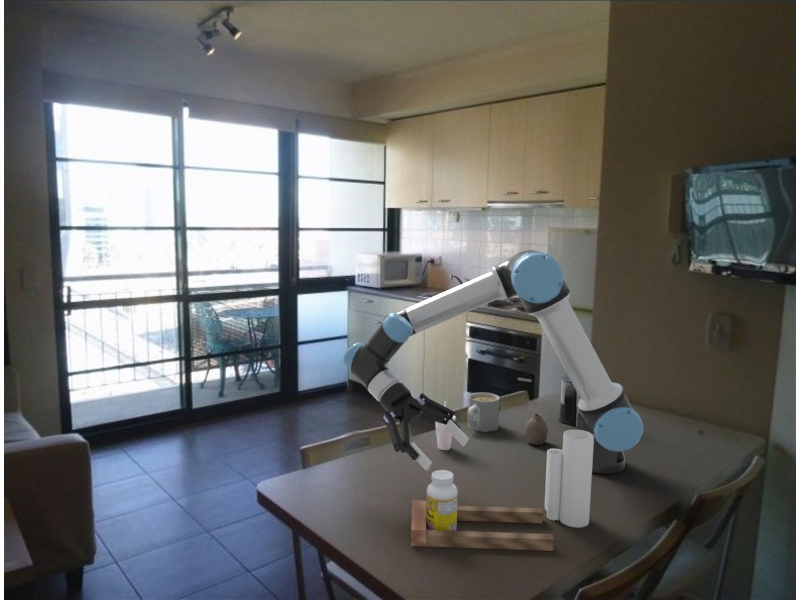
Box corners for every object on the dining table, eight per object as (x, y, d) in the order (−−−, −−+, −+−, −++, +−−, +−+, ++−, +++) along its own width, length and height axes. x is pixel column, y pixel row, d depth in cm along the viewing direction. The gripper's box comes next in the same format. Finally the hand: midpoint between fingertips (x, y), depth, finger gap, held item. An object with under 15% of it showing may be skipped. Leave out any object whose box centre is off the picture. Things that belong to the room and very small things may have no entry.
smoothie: (455, 444, 177) (456, 399, 175) (454, 452, 170) (456, 405, 168) (433, 443, 177) (434, 398, 175) (432, 451, 171) (433, 404, 169)
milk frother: (557, 415, 204) (559, 374, 202) (604, 419, 201) (607, 376, 199) (561, 430, 190) (563, 385, 188) (612, 433, 187) (615, 388, 185)
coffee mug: (482, 419, 199) (483, 390, 198) (504, 427, 191) (505, 397, 190) (453, 427, 191) (454, 397, 189) (475, 436, 183) (476, 405, 182)
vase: (534, 448, 174) (535, 420, 173) (519, 440, 180) (520, 413, 179) (552, 444, 177) (553, 416, 176) (537, 437, 183) (538, 410, 182)
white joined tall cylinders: (594, 520, 132) (599, 435, 130) (578, 531, 128) (583, 443, 125) (551, 502, 141) (555, 421, 138) (533, 512, 136) (537, 429, 133)
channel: (540, 518, 133) (541, 504, 132) (553, 550, 120) (554, 534, 119) (412, 514, 134) (412, 500, 133) (411, 545, 121) (411, 529, 121)
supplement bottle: (423, 523, 130) (424, 468, 128) (453, 522, 131) (454, 467, 129) (428, 539, 124) (429, 481, 122) (459, 538, 124) (461, 480, 123)
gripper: (418, 385, 158) (474, 442, 149) (348, 420, 141) (406, 487, 132) (428, 366, 154) (486, 423, 144) (357, 400, 137) (417, 468, 127)
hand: (448, 454), depth 138 cm, fingers open, 13 cm apart
